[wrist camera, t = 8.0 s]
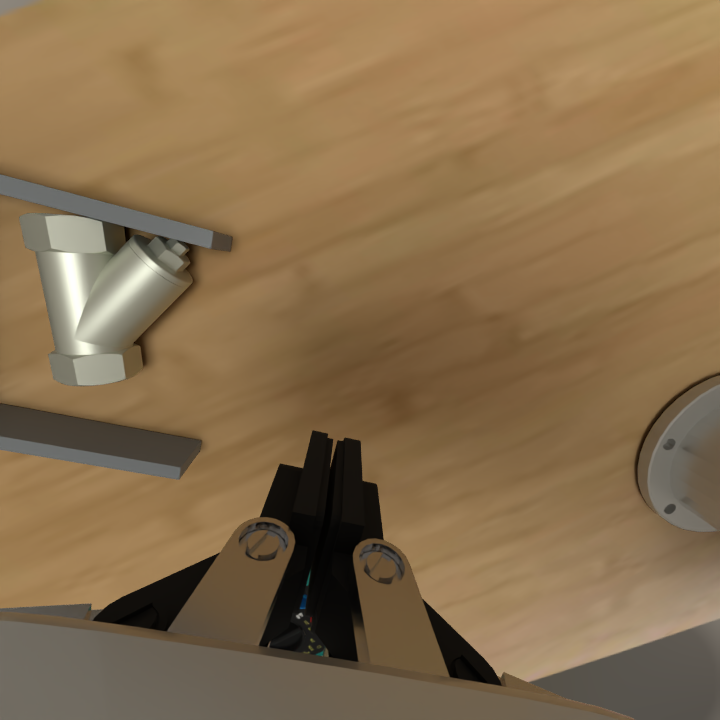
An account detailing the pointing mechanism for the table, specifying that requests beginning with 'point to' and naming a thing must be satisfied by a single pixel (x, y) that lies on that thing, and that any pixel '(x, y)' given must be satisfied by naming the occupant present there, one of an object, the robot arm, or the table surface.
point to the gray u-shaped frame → (89, 437)
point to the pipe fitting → (101, 292)
